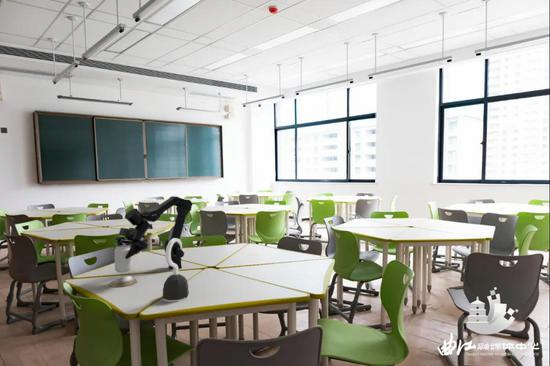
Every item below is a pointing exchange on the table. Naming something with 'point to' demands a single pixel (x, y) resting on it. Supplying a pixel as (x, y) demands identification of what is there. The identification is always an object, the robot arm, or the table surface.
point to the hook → (174, 279)
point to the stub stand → (123, 281)
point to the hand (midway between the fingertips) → (120, 257)
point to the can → (122, 259)
